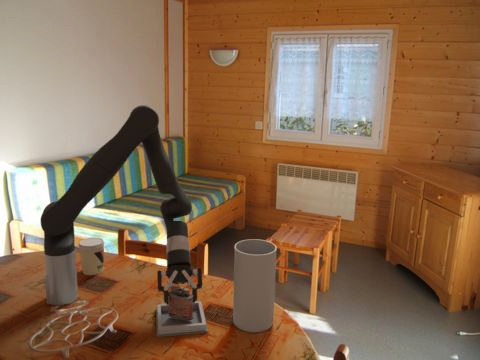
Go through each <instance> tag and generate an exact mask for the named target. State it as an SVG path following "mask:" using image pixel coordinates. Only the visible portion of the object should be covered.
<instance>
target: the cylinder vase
mask: <svg viewBox="0 0 480 360" xmlns="http://www.w3.org/2000/svg"><path fill="white" fill-rule="evenodd" d="M233 248H234V254H233V256H234V257H233V263H234V264H233V296H232V297H233V302H232V304H233V305H232V306H233V308H232V321H233V325H234V326H235V327H236V328H237V329H239V330H241V331H244V332H247V333H261V332H262V333H263V332H265V331H267V330H269V329H270V328H271V327H272V325H273V323H274V314H275V313H274V312H275V296H276V295H275V291H276V290H275V289H276V272H277V271H276V269H277V268H276V267H277V246H276V244H274V243H273V242H272V241H268V240H265V239H257V238H256V239H255V238H254V239H252V238H250V239H243V240H239V241H238V242H236V243H235V244H234V247H233Z"/></svg>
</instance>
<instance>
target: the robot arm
mask: <svg viewBox="0 0 480 360" xmlns="http://www.w3.org/2000/svg"><path fill="white" fill-rule="evenodd" d="M159 124H160V118H159V114H158V112H157V111H156V110H155V109H154V108H153V107H151V106H149V105H144V104H141V105H137V106H136V107H134V108H133V109H132V110H131V112H130V114H129V117H128V118H127V119H126V121H125V122H124V123H123V125H122V126H121V127H120V129H119V130H118V132H117V133H116V134H115V135H114V136H113V137H111V139H109V140H108V141H107V142H105V143H104V144H103V145H102V146H101V147H100V148H99V149H98V150H97V151H96V152H95V153H94V154H92V156H91V157H89V159H88V161H87V162H86V163H85V164H84V165H83V166H82V168H81V169H79V172H78V173H77V175H76V176H75V178H74V179H73V181H72V183H71V185H70V186H69V188H68V189H67V190H66V191H65V193H64V194H63V195H62V196H61V197H60V198H59V199H58V200H57V201H56V200H55V201H53V202H50V203H49V204H47V205H46V206H45V207H44V209H43V211H42V214H41V217H40V226H41V229H42V231H43V253H44V261H45V262H44V263H45V276H44V286H45V296H46V297H45V298H46V304H47V305H53V306H63V305H62V304H66V305H69V304H72V303H73V302H76V300H77V299H78V298H79V293H78V292H79V291H78V290H79V289H78V277H77V263H76V250H75V249H76V247H75V241H76V240H75V239H76V238H75V224H74V222H75V221H76V219H77V218H78V216H79V215H80V214H81V212H82V211H83V210H84V208H85V207H86V206H87V205H89V203H90V202H91V201H92V200H93V199H94V198H95V197H97V195H98V194H99V193H100V192H101V191H102V190H103V189H104V188H105V187H106V186H107V185H108V184H109V183H110V182H111V180H113V178H114V177H115V176H116V175H117V173H118V172H119V171H120V170H121V168H123V167H124V166H123V165H125V163H126V162H127V160H128V159H129V157H131V155H132V153H133V152H134V150H136V148H137V147H139V145H141V144H142V146H143V149H144V151H145V154H146V157H147V159H148V163H149V168H150V170H151V173H152V175H153V179H154V182H155V185H156V187H157V190H158V192H159V193H160V194H162V195H172V196H173V197H171V198H166V199H164V200H162V202H161V203H160V213H161V216H162V218H163V222H164V225H165V228H166V229H165V231H166V245H165V246H166V247H165V248H166V270H159V269H158V271H157V272H156V275H157V277H156V278H157V291H158V292H162V293H163V302H164V304H167V305H169V292H170V291H169V290H171V289H170V287H171V286H172V285H173V284H174V285H179V284H181V285H184V284H185V285H186V284H187V285H188V286H189V288H190V289H191V294H192V295H193V303H195V302H196V301H198V290H200V289H203V287H202V286H203V275H202V268H201V267H198V268H196V269H195V268H194V269H193V268H192V262H191V260H192V258H191V250H190V248H191V247H190V241H189V229H188V224H187V222H185V221H183V220H175V219H178V218H183V217H186V216H188V215H190V214H191V212H192V208H193V205H192V202H191V199H190V198H189V196H188V195H187V194H186V193H185V191H184V190H183V188H182V186H181V185H180V183H179V181H178V178H177V176H176V172H175V170H174V167H173V165H172V163H171V160H170V158H169V156H168V154H167V152H166V150H165V147H164V145H163V141H162V137H161V135H160V134H161V133H160V130H159V129H160V128H159ZM193 274H194V276H195V277H197V283H195V282H194V280H193V278H191V277H192V275H193ZM165 276H166V277H167V278H168V280H167V282H166V284H165V286H164V285H162V281H163V280H162V279H165Z"/></svg>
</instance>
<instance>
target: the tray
mask: <svg viewBox="0 0 480 360" xmlns="http://www.w3.org/2000/svg"><path fill="white" fill-rule="evenodd" d="M155 320H156V321H155V322H156V323H155V325H156V326H155V327H156V329H155V330H156V333H155V335H156V338H164V337H165V338H166V337H177V336H189V335H198V334H199V335H200V334H207V333H209V329H208V324H207V322H206V321H207V319H206V316H205V311H204V307H203V303H202V300H197V301H195V303H193V319H192V320H190V321H187V320H180V319H176V318H173V317H170V316H169V305H167V303H160V304H157V309H155Z"/></svg>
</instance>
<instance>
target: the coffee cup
mask: <svg viewBox="0 0 480 360" xmlns="http://www.w3.org/2000/svg"><path fill="white" fill-rule="evenodd" d="M78 247H79V248H78V250H79V258H80V264H81V270H82V273H83V275H86V276H95V275H100V274H102V272H104V268H105V266H104V265H105V241H104V239H103V238H100V237H87V238H83V239H82V240H80V241H79V243H78Z"/></svg>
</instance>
